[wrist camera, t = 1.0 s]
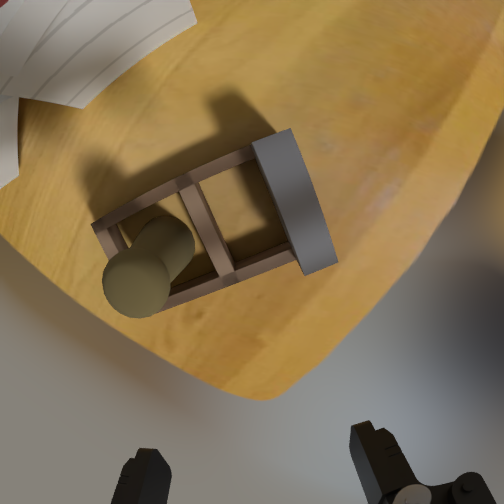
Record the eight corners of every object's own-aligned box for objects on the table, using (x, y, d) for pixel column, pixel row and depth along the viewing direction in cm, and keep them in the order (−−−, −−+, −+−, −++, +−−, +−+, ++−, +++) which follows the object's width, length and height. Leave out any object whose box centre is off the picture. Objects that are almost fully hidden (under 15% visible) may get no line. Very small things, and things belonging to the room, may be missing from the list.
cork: (131, 255, 28) (82, 305, 18) (152, 205, 27) (103, 235, 16) (180, 281, 29) (152, 344, 19) (205, 233, 28) (184, 280, 17)
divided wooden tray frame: (100, 219, 26) (70, 234, 21) (279, 134, 24) (290, 128, 19) (148, 307, 30) (131, 338, 24) (319, 240, 28) (338, 262, 22)
